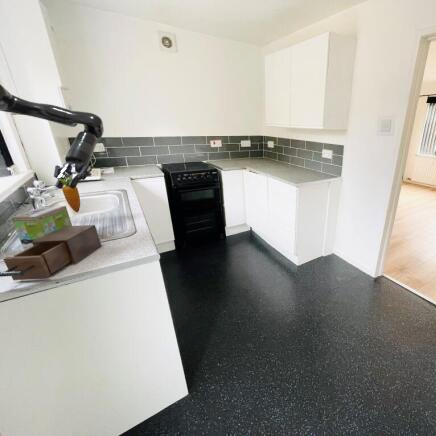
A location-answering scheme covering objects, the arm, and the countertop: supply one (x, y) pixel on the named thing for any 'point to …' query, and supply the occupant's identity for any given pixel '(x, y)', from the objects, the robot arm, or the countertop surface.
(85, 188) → the countertop surface
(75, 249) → the cabinet
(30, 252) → the drawer
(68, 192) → the carrot
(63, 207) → the tea box
